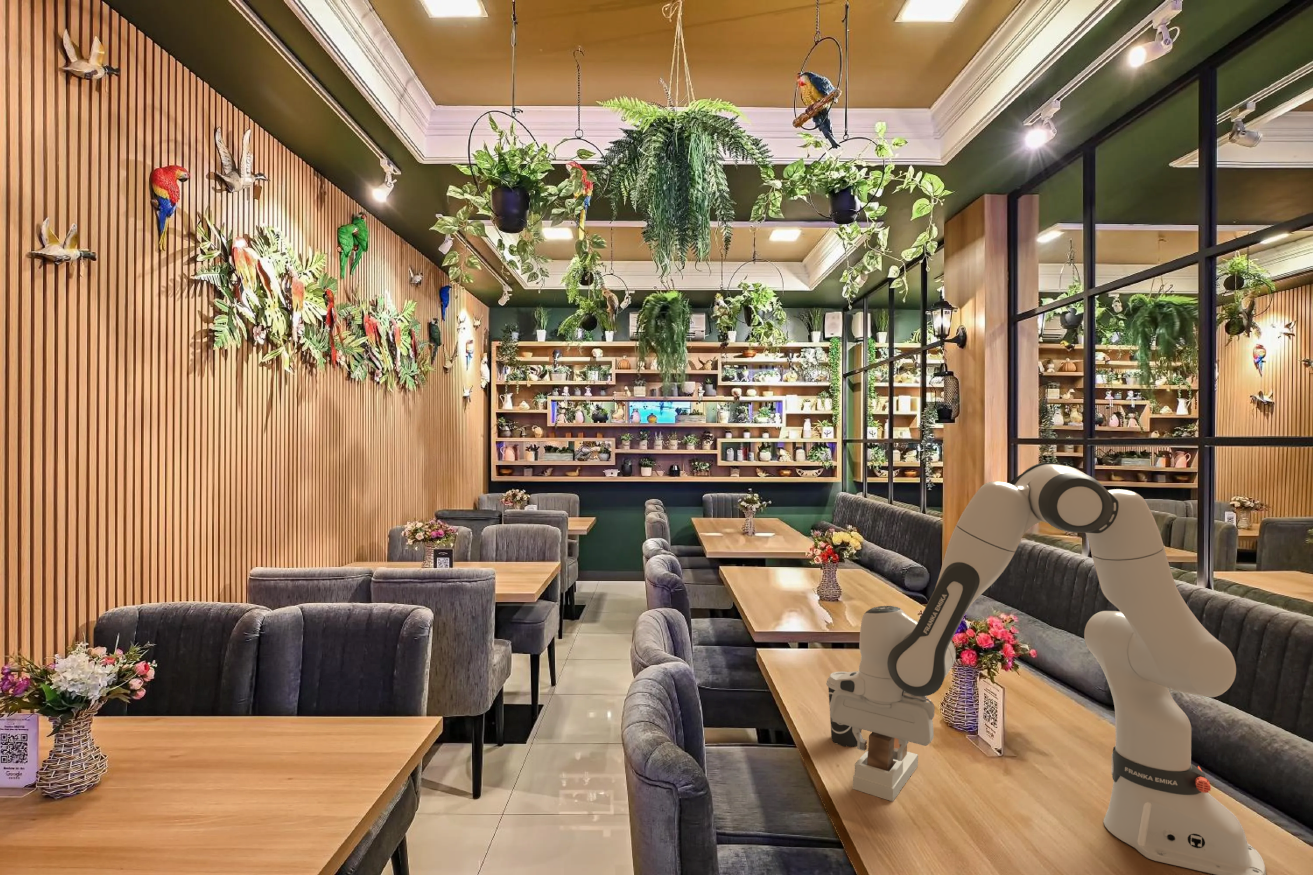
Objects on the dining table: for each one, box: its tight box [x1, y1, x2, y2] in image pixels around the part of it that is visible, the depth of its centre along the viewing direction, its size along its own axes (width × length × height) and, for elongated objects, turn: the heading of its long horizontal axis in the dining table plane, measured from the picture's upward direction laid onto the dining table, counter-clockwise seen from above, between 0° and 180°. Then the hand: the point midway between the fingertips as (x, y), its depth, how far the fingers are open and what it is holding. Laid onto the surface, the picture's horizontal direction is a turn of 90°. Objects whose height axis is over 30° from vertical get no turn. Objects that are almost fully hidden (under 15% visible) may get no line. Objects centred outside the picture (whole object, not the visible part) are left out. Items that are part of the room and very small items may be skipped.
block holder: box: [852, 738, 919, 802], centre depth 141 cm, size 8×19×10 cm, turn 145°
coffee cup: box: [825, 671, 862, 748], centre depth 158 cm, size 10×10×15 cm
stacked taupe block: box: [867, 732, 894, 771], centre depth 137 cm, size 4×5×8 cm
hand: (879, 754), depth 137 cm, fingers open, 6 cm apart
